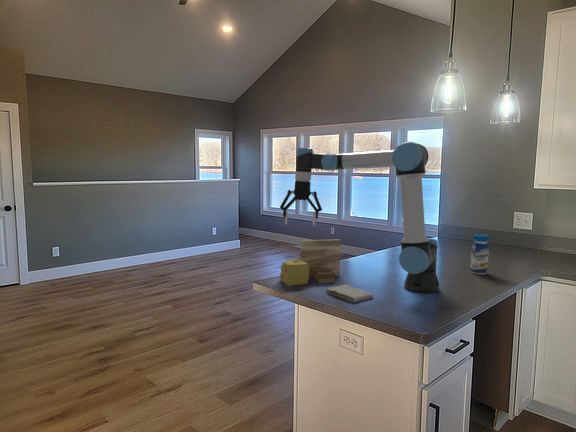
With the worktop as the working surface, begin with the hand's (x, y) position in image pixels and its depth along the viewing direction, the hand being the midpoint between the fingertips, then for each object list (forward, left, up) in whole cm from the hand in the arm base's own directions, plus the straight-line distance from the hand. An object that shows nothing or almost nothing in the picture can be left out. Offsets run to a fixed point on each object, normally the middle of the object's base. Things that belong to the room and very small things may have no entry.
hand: (299, 224), depth 202 cm
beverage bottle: (-4, -95, -26) cm, 99 cm away
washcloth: (-31, -15, -27) cm, 44 cm away
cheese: (-8, +4, -27) cm, 28 cm away
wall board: (-2, -11, -26) cm, 28 cm away
